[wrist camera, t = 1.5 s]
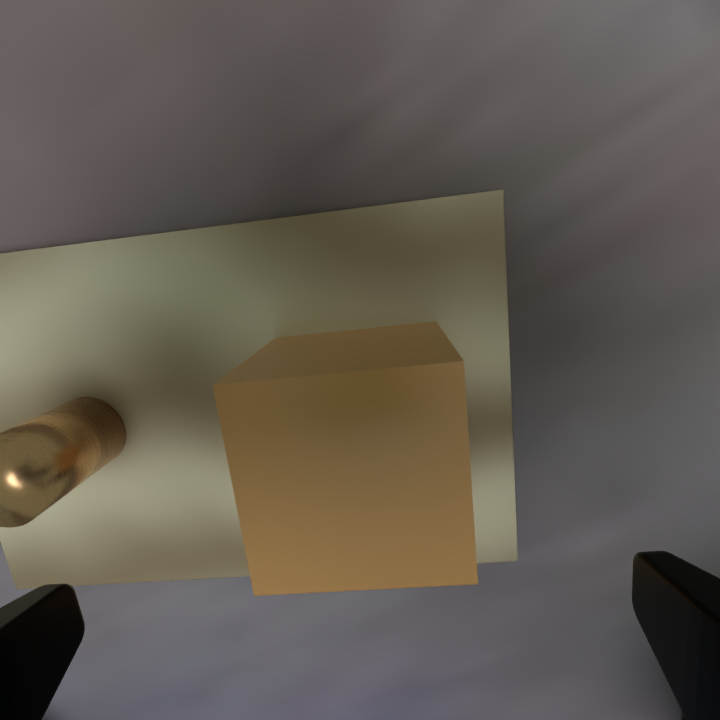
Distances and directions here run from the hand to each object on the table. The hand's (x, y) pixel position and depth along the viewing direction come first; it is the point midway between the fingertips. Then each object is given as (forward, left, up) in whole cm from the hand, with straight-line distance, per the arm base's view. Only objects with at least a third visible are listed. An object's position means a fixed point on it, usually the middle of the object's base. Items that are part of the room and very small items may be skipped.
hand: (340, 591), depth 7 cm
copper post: (0, +10, -9) cm, 13 cm away
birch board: (0, +5, -10) cm, 11 cm away
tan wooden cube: (0, 0, -9) cm, 9 cm away
